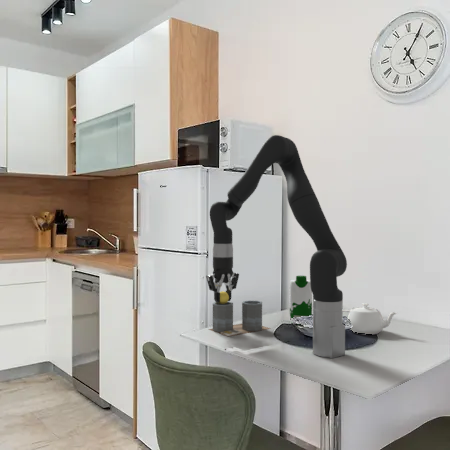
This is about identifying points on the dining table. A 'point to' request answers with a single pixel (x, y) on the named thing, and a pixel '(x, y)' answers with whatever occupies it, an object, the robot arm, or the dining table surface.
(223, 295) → the mustard ball
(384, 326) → the teapot
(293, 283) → the milk carton
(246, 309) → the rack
